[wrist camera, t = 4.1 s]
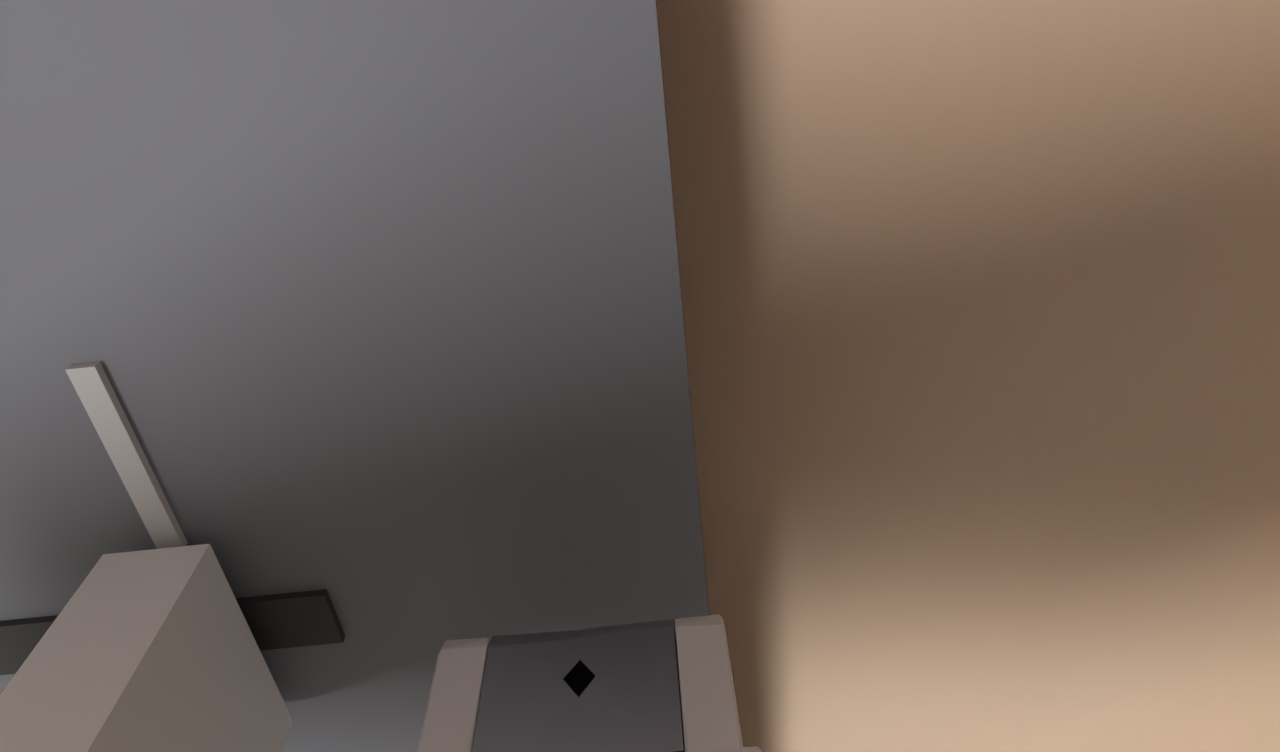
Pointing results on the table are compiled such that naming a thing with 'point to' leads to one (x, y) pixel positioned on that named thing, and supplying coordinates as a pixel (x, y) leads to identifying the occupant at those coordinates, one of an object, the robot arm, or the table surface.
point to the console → (345, 328)
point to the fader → (147, 666)
